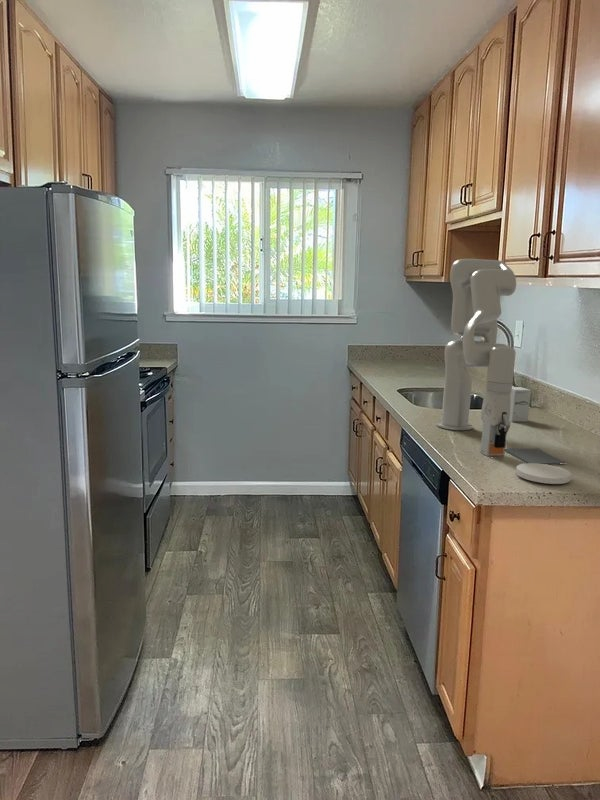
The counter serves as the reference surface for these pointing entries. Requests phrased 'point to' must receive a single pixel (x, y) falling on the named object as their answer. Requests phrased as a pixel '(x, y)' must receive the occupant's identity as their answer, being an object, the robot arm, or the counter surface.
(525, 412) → the supplement box
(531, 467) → the plastic lid
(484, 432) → the skincare box
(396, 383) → the counter surface
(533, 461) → the mat
